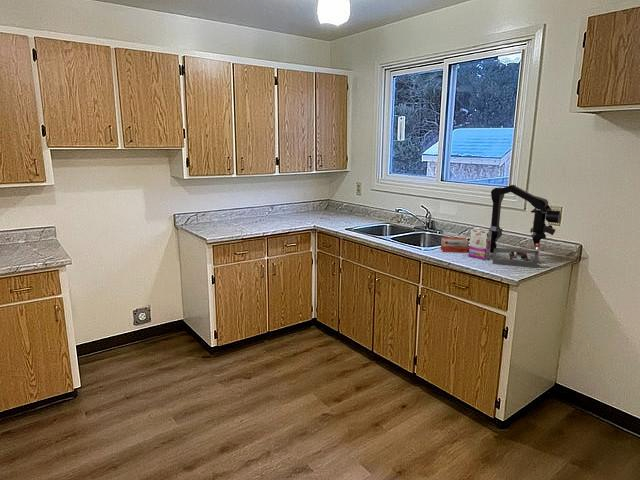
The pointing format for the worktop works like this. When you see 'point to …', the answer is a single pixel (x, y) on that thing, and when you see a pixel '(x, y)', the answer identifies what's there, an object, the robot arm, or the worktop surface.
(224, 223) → the worktop surface
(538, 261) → the ram track
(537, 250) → the handle
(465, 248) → the medicine box
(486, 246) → the candy bar box
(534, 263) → the press bed
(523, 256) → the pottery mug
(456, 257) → the worktop surface
